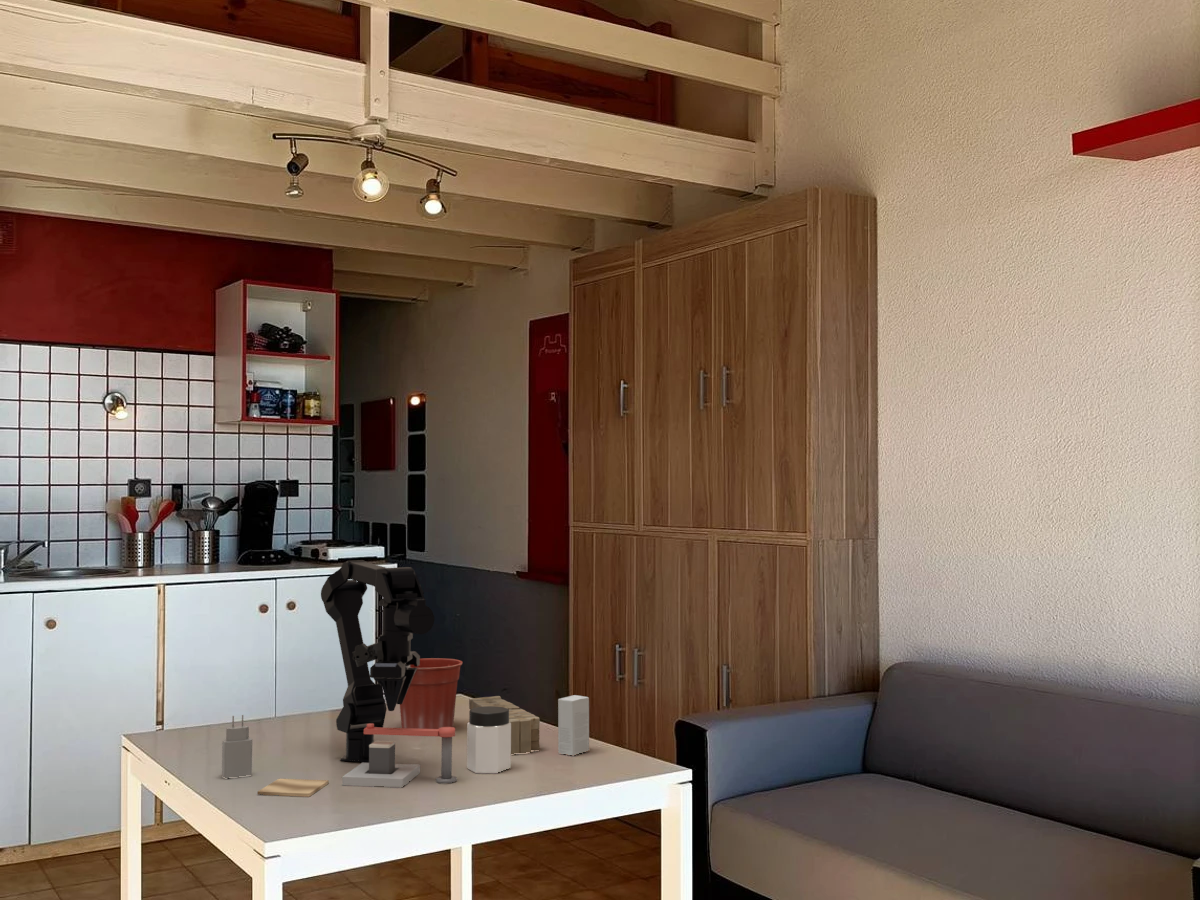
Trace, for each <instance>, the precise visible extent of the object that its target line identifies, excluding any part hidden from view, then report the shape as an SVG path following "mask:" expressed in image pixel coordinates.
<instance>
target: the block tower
mask: <svg viewBox="0 0 1200 900" xmlns="http://www.w3.org/2000/svg"><path fill="white" fill-rule="evenodd" d="M468 700H469V701H468V706H469V707H468V708H469V711H470V710H471V709H473V708H477V707H488V706H493V707H504V708H507V709H509V722H510V723H511V754H514V753H526V752H531V750H539V751H540V721H541V720H540V717H539V716H537V715H535V714H533V713H532V712H530V711H526V710H525V709H523V708H520V706H517V705H515V704H514V703H512V702H510V701H507V700H505V699H502V697H501V696H500V695H495V696H483V697H475V698H474V697H473V698H469V699H468ZM531 753H532V752H531Z"/></svg>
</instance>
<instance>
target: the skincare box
mask: <svg viewBox="0 0 1200 900" xmlns="http://www.w3.org/2000/svg"><path fill="white" fill-rule="evenodd" d="M557 703H558V704H557V705H558V707H557V709H558V710H557V713H558V714H557V715H558V716H557V717H558V718H557V719H558V720H557V721H558V722H557V723H558V725H557V726H558V727H557V728H558V732H557V733H558V734H557V738H558V739H557V741H558V742H557V745H558V749H557V751H558V752H557V753H558V754H559V753H561V754H568V755H575V754H579V753H582V752H585V751H588V750H589V751H590V697H588V696H583V695H577V694H574V695H569V696H565V697H561V698H558V699H557ZM582 754H583V753H582ZM579 755H580V754H579Z"/></svg>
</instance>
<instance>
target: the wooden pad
mask: <svg viewBox="0 0 1200 900" xmlns="http://www.w3.org/2000/svg"><path fill="white" fill-rule="evenodd" d="M327 785H329V780H327V779H326V780H325V779H304V778H298V779H297V778H278V779H276V780H274V781H272V782H271V783H270V784H268V785H266V786H264V787H262V788H261V789H259V790H258V791H257V794H261V795H260V796H274V795H279V797H303V798H304V797H305V798H306V797H307V798H310V797H311V796H313V795H314V794H315V793H317V792H319V791H320V790H321V789H323V788H324V787H326V786H327ZM257 794H256V795H257ZM262 794H263V795H262Z"/></svg>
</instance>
